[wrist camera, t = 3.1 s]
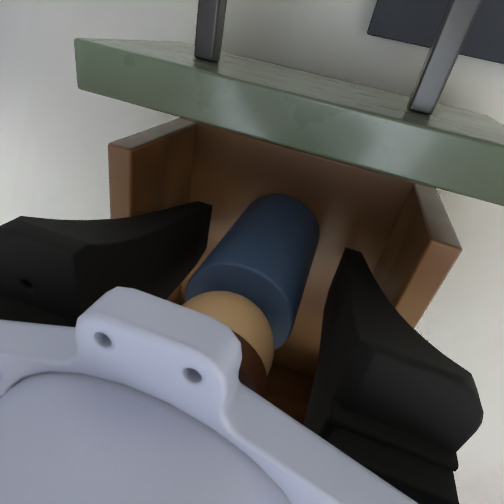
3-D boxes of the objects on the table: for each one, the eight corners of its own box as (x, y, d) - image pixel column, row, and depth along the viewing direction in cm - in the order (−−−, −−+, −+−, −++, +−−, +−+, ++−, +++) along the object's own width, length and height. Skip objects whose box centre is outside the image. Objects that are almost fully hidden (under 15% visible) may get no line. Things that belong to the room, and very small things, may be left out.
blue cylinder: (249, 183, 14) (128, 311, 7) (330, 207, 14) (283, 370, 7) (235, 251, 16) (129, 406, 9) (307, 275, 16) (251, 458, 9)
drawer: (191, -125, 11) (48, -258, 6) (582, -62, 9) (801, -179, 5) (162, 314, 21) (101, 391, 17) (346, 383, 20) (337, 491, 15)
